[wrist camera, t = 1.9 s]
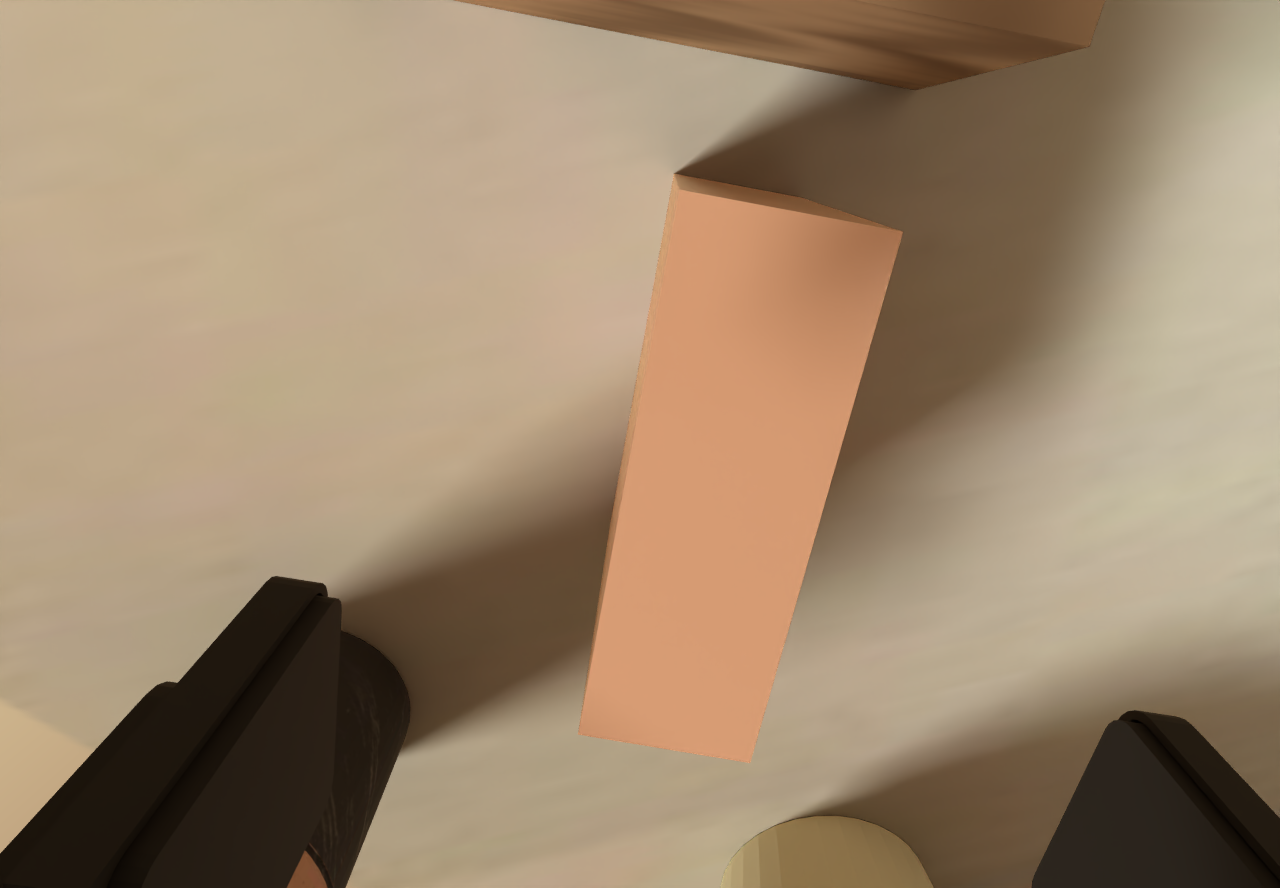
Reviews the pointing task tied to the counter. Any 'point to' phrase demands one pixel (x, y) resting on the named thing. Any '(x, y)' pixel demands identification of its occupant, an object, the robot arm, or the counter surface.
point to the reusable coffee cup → (825, 857)
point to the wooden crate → (848, 31)
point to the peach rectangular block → (728, 459)
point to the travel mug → (356, 762)
